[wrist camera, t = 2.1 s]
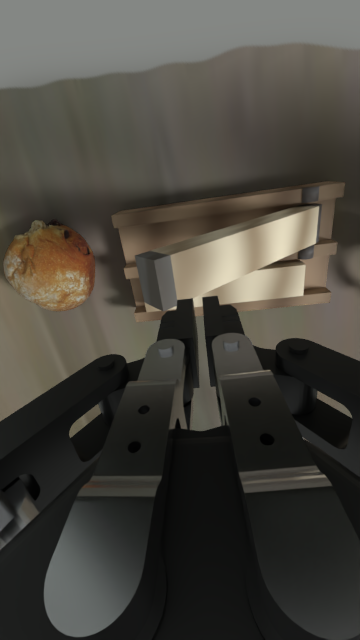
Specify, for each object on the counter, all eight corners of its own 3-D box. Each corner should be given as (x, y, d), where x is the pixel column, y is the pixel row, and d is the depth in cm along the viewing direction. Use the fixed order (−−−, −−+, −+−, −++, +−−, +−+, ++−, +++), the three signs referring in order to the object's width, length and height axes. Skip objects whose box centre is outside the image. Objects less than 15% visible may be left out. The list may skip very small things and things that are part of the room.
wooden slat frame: (326, 181, 29) (350, 182, 24) (315, 288, 34) (333, 306, 30) (120, 210, 31) (108, 217, 26) (141, 307, 36) (134, 326, 32)
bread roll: (29, 261, 38) (-7, 303, 33) (22, 196, 30) (-27, 239, 25) (99, 289, 39) (74, 334, 35) (110, 235, 31) (80, 283, 27)
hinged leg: (303, 203, 28) (327, 203, 26) (301, 238, 29) (323, 239, 28) (134, 255, 18) (154, 260, 16) (144, 302, 20) (163, 311, 18)
